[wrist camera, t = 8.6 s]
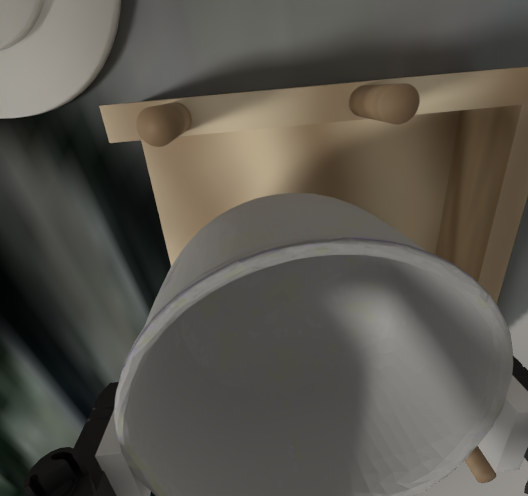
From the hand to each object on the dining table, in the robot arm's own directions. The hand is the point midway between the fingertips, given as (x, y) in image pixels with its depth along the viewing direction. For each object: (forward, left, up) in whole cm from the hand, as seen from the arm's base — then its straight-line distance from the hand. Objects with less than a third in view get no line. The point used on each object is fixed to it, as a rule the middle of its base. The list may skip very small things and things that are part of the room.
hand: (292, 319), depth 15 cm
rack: (+2, 0, -5) cm, 5 cm away
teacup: (0, 0, -2) cm, 2 cm away
